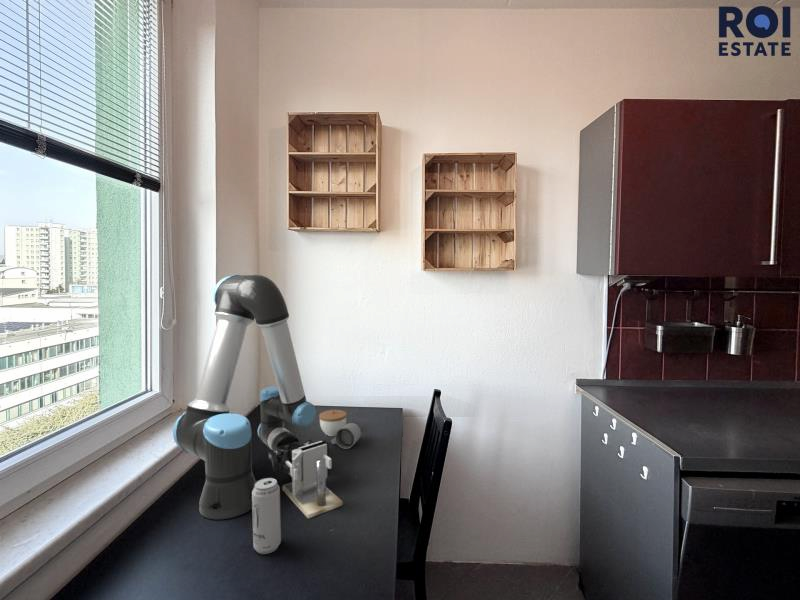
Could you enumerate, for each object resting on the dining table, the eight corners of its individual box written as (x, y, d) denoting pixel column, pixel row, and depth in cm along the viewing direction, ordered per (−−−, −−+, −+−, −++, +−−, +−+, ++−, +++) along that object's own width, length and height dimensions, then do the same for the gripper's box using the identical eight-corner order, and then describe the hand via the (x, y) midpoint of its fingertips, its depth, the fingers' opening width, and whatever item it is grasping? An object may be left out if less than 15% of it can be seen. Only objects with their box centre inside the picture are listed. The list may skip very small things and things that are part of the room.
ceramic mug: (362, 441, 153) (361, 421, 152) (354, 450, 145) (354, 428, 145) (336, 439, 155) (335, 419, 155) (327, 447, 147) (326, 427, 147)
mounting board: (308, 518, 104) (308, 514, 104) (282, 489, 118) (282, 486, 118) (342, 505, 110) (342, 501, 110) (314, 479, 124) (314, 476, 124)
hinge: (294, 496, 109) (293, 459, 109) (281, 490, 112) (280, 454, 112) (331, 475, 121) (330, 442, 120) (318, 470, 124) (318, 438, 123)
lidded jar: (317, 430, 164) (317, 407, 163) (343, 426, 168) (343, 404, 167) (322, 440, 154) (321, 416, 153) (349, 436, 158) (349, 412, 157)
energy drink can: (248, 546, 93) (247, 483, 92) (273, 535, 97) (271, 474, 96) (260, 559, 89) (259, 493, 88) (285, 546, 93) (284, 483, 92)
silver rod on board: (307, 511, 105) (306, 466, 104) (283, 485, 118) (282, 445, 118) (338, 500, 110) (338, 457, 110) (312, 476, 124) (311, 437, 123)
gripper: (315, 445, 137) (349, 470, 119) (248, 464, 123) (274, 495, 105) (315, 423, 136) (348, 445, 118) (247, 440, 123) (273, 467, 105)
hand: (313, 469), depth 112 cm, fingers closed on hinge, 9 cm apart
